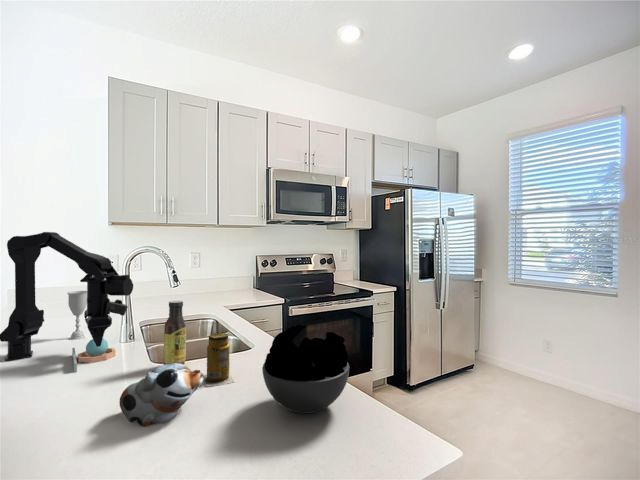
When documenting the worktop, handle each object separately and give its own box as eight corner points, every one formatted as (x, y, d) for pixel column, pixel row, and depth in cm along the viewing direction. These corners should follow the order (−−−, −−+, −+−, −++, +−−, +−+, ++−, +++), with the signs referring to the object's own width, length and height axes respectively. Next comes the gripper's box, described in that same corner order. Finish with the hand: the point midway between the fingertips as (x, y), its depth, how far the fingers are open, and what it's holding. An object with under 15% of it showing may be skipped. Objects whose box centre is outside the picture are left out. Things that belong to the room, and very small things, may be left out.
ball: (85, 355, 109) (85, 337, 109) (106, 351, 113) (106, 334, 113) (86, 360, 104) (86, 342, 104) (108, 356, 108) (108, 338, 108)
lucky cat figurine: (177, 392, 84) (202, 346, 82) (190, 430, 75) (218, 379, 74) (112, 393, 74) (139, 340, 72) (119, 438, 65) (149, 379, 63)
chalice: (62, 338, 129) (62, 292, 129) (80, 334, 135) (80, 290, 135) (74, 341, 126) (74, 293, 126) (92, 336, 132) (92, 291, 132)
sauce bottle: (177, 371, 97) (177, 304, 97) (158, 369, 98) (158, 303, 99) (190, 363, 104) (190, 300, 104) (172, 361, 105) (172, 299, 105)
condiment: (228, 371, 97) (228, 330, 98) (234, 382, 90) (234, 338, 90) (202, 375, 94) (202, 333, 94) (206, 387, 87) (206, 342, 87)
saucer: (77, 356, 109) (77, 351, 109) (112, 350, 116) (112, 345, 116) (78, 365, 102) (78, 360, 102) (116, 358, 108) (116, 353, 108)
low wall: (72, 355, 110) (72, 347, 110) (74, 355, 111) (74, 347, 111) (74, 372, 96) (74, 363, 96) (76, 371, 96) (76, 363, 97)
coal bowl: (250, 399, 80) (251, 322, 80) (322, 382, 90) (322, 313, 90) (282, 443, 63) (283, 344, 63) (367, 416, 73) (367, 331, 73)
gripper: (130, 296, 106) (130, 345, 106) (121, 289, 121) (121, 332, 121) (88, 300, 100) (87, 352, 99) (84, 292, 114) (84, 337, 114)
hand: (97, 342), depth 109 cm, fingers open, 9 cm apart
